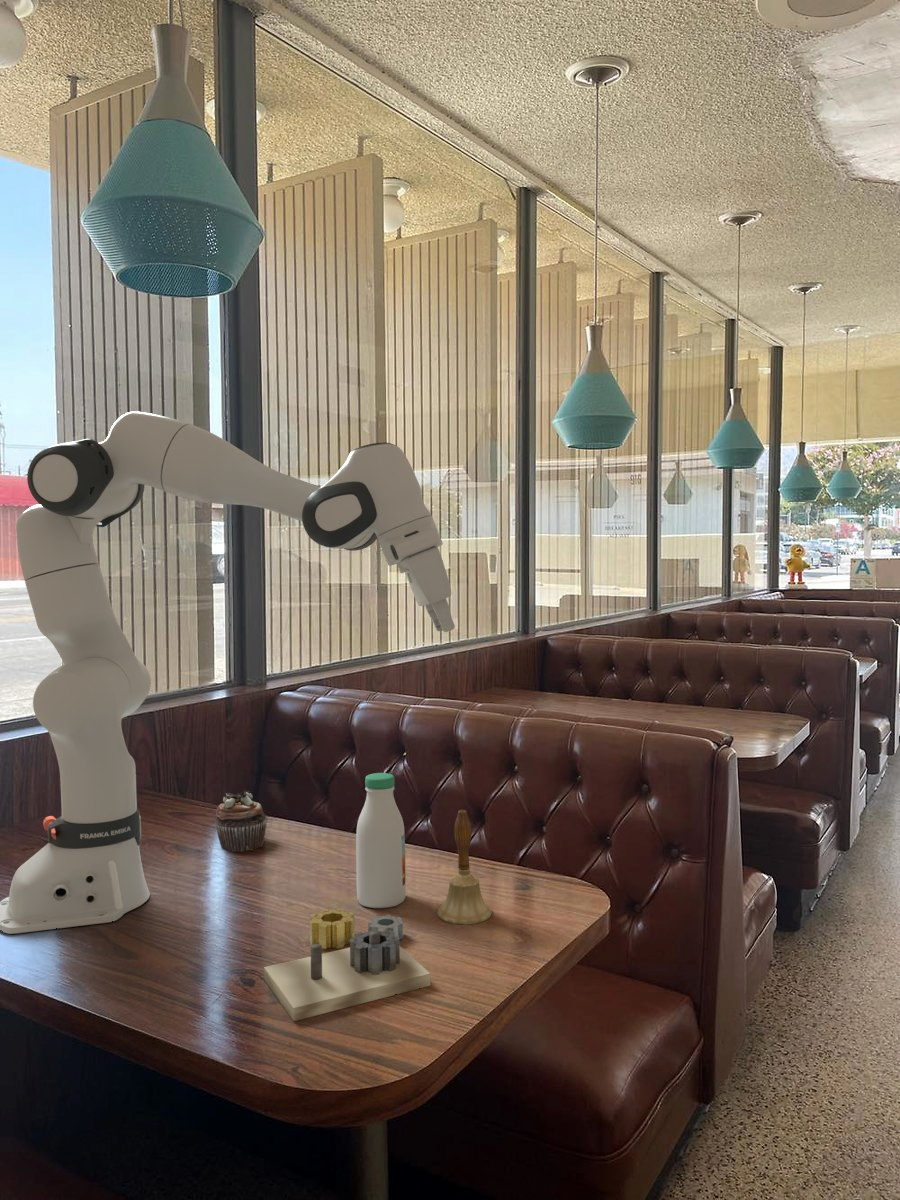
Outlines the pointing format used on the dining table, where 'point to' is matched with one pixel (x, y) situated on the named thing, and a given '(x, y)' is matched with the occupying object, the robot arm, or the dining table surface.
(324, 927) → the brass gear
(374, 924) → the zinc gear
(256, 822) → the cupcake
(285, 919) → the dining table surface
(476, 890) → the hand bell
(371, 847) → the milk bottle
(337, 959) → the gear board
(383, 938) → the steel gear
